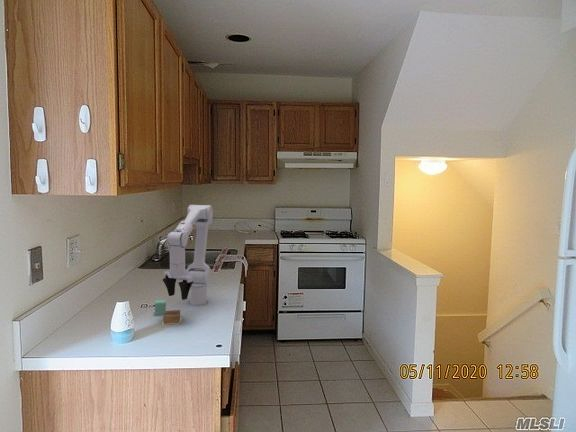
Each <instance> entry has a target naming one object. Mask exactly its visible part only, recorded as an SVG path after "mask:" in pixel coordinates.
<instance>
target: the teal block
mask: <svg viewBox="0 0 576 432" xmlns="http://www.w3.org/2000/svg"><path fill="white" fill-rule="evenodd" d="M164 311H167V299H155V302H154V316H163V315H164Z"/></svg>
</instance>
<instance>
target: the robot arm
mask: <svg viewBox="0 0 576 432" xmlns="http://www.w3.org/2000/svg"><path fill="white" fill-rule="evenodd" d="M186 211H187V213H186V214H187V215H186V217H185V218H184V220H181V221H180V222H179V224H178V225H177V226H176V228H175V229H174V230H173V231H170V232H169V233H168V234H167V235H166V241H165V242H166V247H167V251H168V252H169V270H165V271H163V278H162V281H163V284H164V285H165V287H166V290H167V293H168V296H169V297H172V296H175V293H176V292H175V291H176V282H177V280H179V281H178V286H179V288H180V295H181V297H180V298H181V300H183V301H185V300H187V299H188V297H189V304H190V305H191V306H203V305H206V304H207V302H208V299H207V298H208V297H207V296H208V285H209V283H211V279H212V278H211V277H212V276H211V275H212V273H211V267H210V266H209V265H208V264H207V263H206V253H207V243H208V234H209V228H210V227H209V226H210V225H212V224H213V217H214V209H213V207H212V205H211V204H206V205H205V204H203V205H202V204H190V205H188V207H187V210H186ZM194 225H195V226H196V235H195V246H194V254H193V262H192V263H190V264H189V265H187V268H186V247H187V245H188V240H189V237H190V234H191V233H192V231H193V230H194V228H193V226H194Z"/></svg>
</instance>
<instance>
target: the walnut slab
mask: <svg viewBox="0 0 576 432" xmlns="http://www.w3.org/2000/svg"><path fill="white" fill-rule="evenodd" d="M180 317H181V309H173V310H166V311H164V315H162V322H163V325H171V324H170V323H178V324H181V323H180Z"/></svg>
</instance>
